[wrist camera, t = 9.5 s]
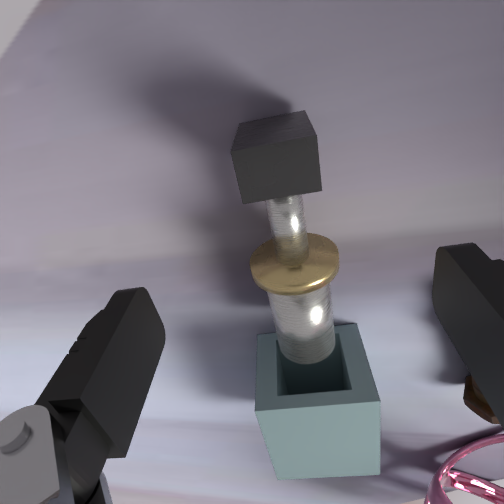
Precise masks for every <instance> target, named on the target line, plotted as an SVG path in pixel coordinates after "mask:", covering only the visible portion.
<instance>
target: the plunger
mask: <svg viewBox="0 0 504 504" xmlns="http://www.w3.org/2000/svg"><path fill="white" fill-rule="evenodd" d="M231 155H232V160H233V164H234V168H235V172H236V177H237V181H238V185H239V189H240V194H241V198H242V202H243V204H247V203H253V202H259V201H265V202H266V207H267V212H268V218H269V223H270V228H271V233H272V238H273V239H271V240H269V241H267V242H265V243H263V244H262V245H260V246H259V247H258V248H257V249H256V250H255V251H254V252H253V254H252V256H251V258H250V268H251V272H252V276H253V280H254V282H255V283H256V284H257V286H259V287H260V288H261V289H263V290H265V291H267V294H268V298H269V302H270V307H271V311H272V316H273V320H274V324H275V329H276V333H277V338H278V342H279V346H280V350H281V352H282V353H283V355H284V356H285V357H286V358H288V359H289V360H291V361H293V362H295V363H299V364H313V363H317V362H320V361H322V360H324V359H325V358H327V357H328V356H329V355H330V354H331V353H332V351H333V350H334V347H335V332H334V322H333V312H332V301H331V291H330V282H331V281H332V280H333V279H334V277H335V276H336V275H337V273H338V270H339V253H338V249H337V246H336V245H335V244H334V243H333V242H332V241H331V240H330V239H328V238H326V237H324V236H321V235H317V234H312V233H307V230H306V222H305V215H304V207H303V200H302V194H306V193H312V192H318V191H322V185H321V175H320V164H319V154H318V143H317V135H316V133H315V130H314V128H313V126H312V124H311V122H310V120H309V118H308V116H307V114H306V112H305V110H304V111H299V112H294V113H289V114H284V115H279V116H274V117H269V118H265V119H260V120H255V121H250V122H245V123H240V124H239V126H238V130H237V133H236V136H235V139H234V142H233V146H232V149H231Z"/></svg>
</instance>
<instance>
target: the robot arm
mask: <svg viewBox="0 0 504 504" xmlns="http://www.w3.org/2000/svg"><path fill="white" fill-rule="evenodd" d="M432 302H433V306H434V310H435V313H436V315H437V317H438V319H439V321H440V322H441V324H442V326H443V327H444V329H445V331H446V333H447V334H448V336H449V338H450V339H451V341H452V343H453V344H454V346H455V348H456V350H457V351H458V353H459V355H460V356H461V358H462V360H463V361H464V363H465V365H466V366H467V368H468V370H469V372H470V373H471V375H472V377H473V378H474V380H475V382H476V383H477V385H478V387H479V389H480V390H481V392H482V394H483V395H484V397H485V399H486V400H487V402H488V404H489V406H490V407H491V409H492V411H493V412H494V414H495V416H496V417H497V419H498V421H499V423H500V424H501V426H502V428H503V429H504V261H503V260H501V259H498V260H491V259H490V258H489V257H488V256H487V255H486V254H485V253H484V252H483V251H482V250H481V249H480V248H479V247H478V246H477V245H476V244H474V243H465V244H458V245H450V246H443V247H439V248H438V249H437V252H436V258H435V268H434V278H433V288H432ZM164 345H165V329H164V325H163V323H162V321H161V318H160V316H159V314H158V312H157V310H156V308H155V306H154V304H153V301H152V299H151V297H150V295H149V293H148V291H147V290H146V289H145V288H144V287H139V288H132V289H124V290H118V291H116V292H115V293H114V294H113V296H112V297H111V299H110V301H109V302H108V304H107V305H106V307H105V309H104V310H101V311H100V312H99V313H97V314H96V315H95V316H94V317H93V318H92V319H91V320H90V321H89V322H88V323H87V324H86V325H85V327H84V328H83V330H82V332H81V333H80V335H79V336H78V338H77V341H75V342H74V344H73V346H72V347H71V349H70V350H69V354H67V355H66V356H65V358H64V359H63V361H62V363H61V364H60V366H59V367H58V369H57V370H56V372H55V373H54V375H53V377H52V378H51V380H50V381H49V383H48V384H47V386H46V387H45V389H44V391H43V392H42V394H41V395H40V397H39V398H38V400H37V401H36V403H35V404H34V405H31V406H27V407H24V408H21V409H19V410H17V411H15V412H13V413H12V414H10V415H9V416H7V417H6V418H4V419H3V420H2V421H1V422H0V504H113V503H112V499H111V495H110V491H109V487H108V483H107V480H106V477H105V475H104V473H103V472H102V469H103V467H104V464H105V462H106V459H107V458H125V457H126V454H127V452H128V449H129V446H130V443H131V440H132V437H133V434H134V431H135V429H136V426H137V423H138V420H139V417H140V414H141V411H142V408H143V405H144V403H145V400H146V397H147V394H148V391H149V388H150V385H151V382H152V380H153V377H154V374H155V371H156V368H157V365H158V362H159V359H160V356H161V354H162V351H163V348H164Z"/></svg>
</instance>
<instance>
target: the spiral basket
mask: <svg viewBox="0 0 504 504" xmlns="http://www.w3.org/2000/svg"><path fill="white" fill-rule="evenodd" d="M502 442H504V434H497V435H491V436H487V437H484V438H481V439H478V440H475V441H473V442H471V443H468V444H467V445H465V446H463V447H461V448H460V449H458V450H457V451H456V452H454V453H453V454H452V455H451V456H450V457H449V458H447V459H446V461H445V462H444V463H443V464H442V465H441V466H440V468H439V469H438V470H437V472H436V473H435V475H434V476H433V478H432V480H431V482H430V484H429V487H428V490H427V493H426V497H425V501H424V504H452V502H451V501H450V500H449V498H448V497H447V496H446V494H445V492H444V490H443V488H442V487H450V488H455V489H459V490H463V491H466V492H469V493H471V494H474V495H477V496H479V497H481V498H484V499H486V500H488V501H491V502H493V503H495V504H504V488H503V487H500V486H498V485H496V484H493V483H491V482H489V481H486V480H484V479H482V478H479V477H476V476H474V475H471V474H468V473H464V472H460V471H456V470H450V469H451V468H452V466H453V465H454V464H455V463H457V462H458V461H459V460H460V459H461V458H463V457H464V456H466V455H467V454H469V453H471V452H473V451H475V450H477V449H479V448H482V447H485V446H488V445H492V444H496V443H502Z"/></svg>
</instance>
